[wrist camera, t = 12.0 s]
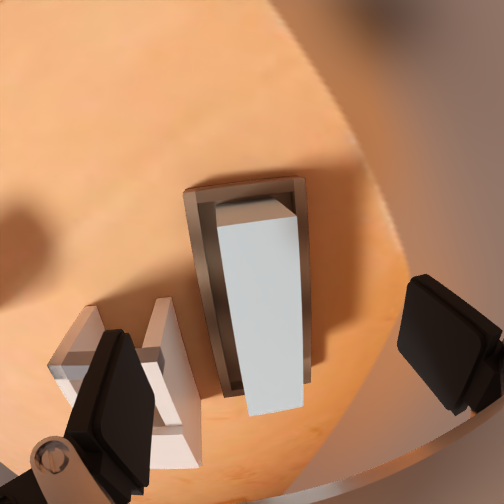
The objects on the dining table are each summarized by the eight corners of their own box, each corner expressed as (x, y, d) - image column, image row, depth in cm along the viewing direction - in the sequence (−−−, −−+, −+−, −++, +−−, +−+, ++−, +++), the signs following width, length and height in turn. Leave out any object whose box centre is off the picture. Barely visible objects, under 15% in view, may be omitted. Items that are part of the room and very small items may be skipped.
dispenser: (84, 306, 22) (42, 372, 14) (171, 296, 23) (155, 370, 15) (128, 404, 26) (114, 472, 18) (200, 400, 27) (202, 473, 19)
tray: (185, 189, 20) (182, 193, 19) (297, 175, 21) (305, 178, 19) (222, 383, 27) (224, 397, 25) (305, 369, 27) (310, 382, 25)
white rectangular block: (215, 204, 20) (216, 227, 15) (273, 197, 21) (296, 216, 15) (240, 365, 25) (249, 416, 19) (285, 357, 25) (303, 406, 20)
